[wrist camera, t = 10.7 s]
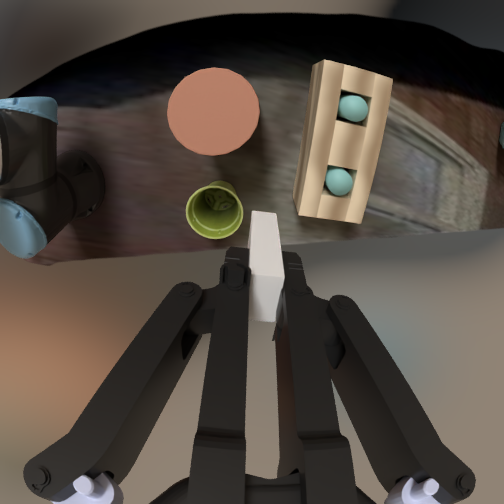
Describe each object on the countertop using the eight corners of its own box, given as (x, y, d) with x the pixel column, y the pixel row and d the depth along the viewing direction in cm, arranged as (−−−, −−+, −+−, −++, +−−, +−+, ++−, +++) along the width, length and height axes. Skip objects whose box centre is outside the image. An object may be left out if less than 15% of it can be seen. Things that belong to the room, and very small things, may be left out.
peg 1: (327, 114, 43) (340, 118, 36) (331, 92, 41) (344, 92, 34) (349, 119, 43) (365, 124, 36) (352, 97, 41) (369, 99, 34)
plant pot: (187, 184, 52) (175, 200, 44) (232, 163, 49) (227, 176, 42) (209, 224, 56) (202, 246, 49) (253, 206, 54) (252, 226, 47)
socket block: (292, 195, 53) (298, 215, 45) (312, 65, 39) (324, 59, 32) (346, 203, 53) (360, 223, 45) (371, 80, 40) (392, 79, 32)
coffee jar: (271, 100, 43) (279, 103, 28) (234, 146, 48) (222, 173, 32) (221, 65, 40) (202, 50, 25) (185, 113, 44) (150, 124, 29)
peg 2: (316, 178, 49) (325, 193, 42) (320, 157, 47) (331, 169, 40) (336, 181, 49) (349, 197, 42) (341, 161, 47) (355, 173, 40)
